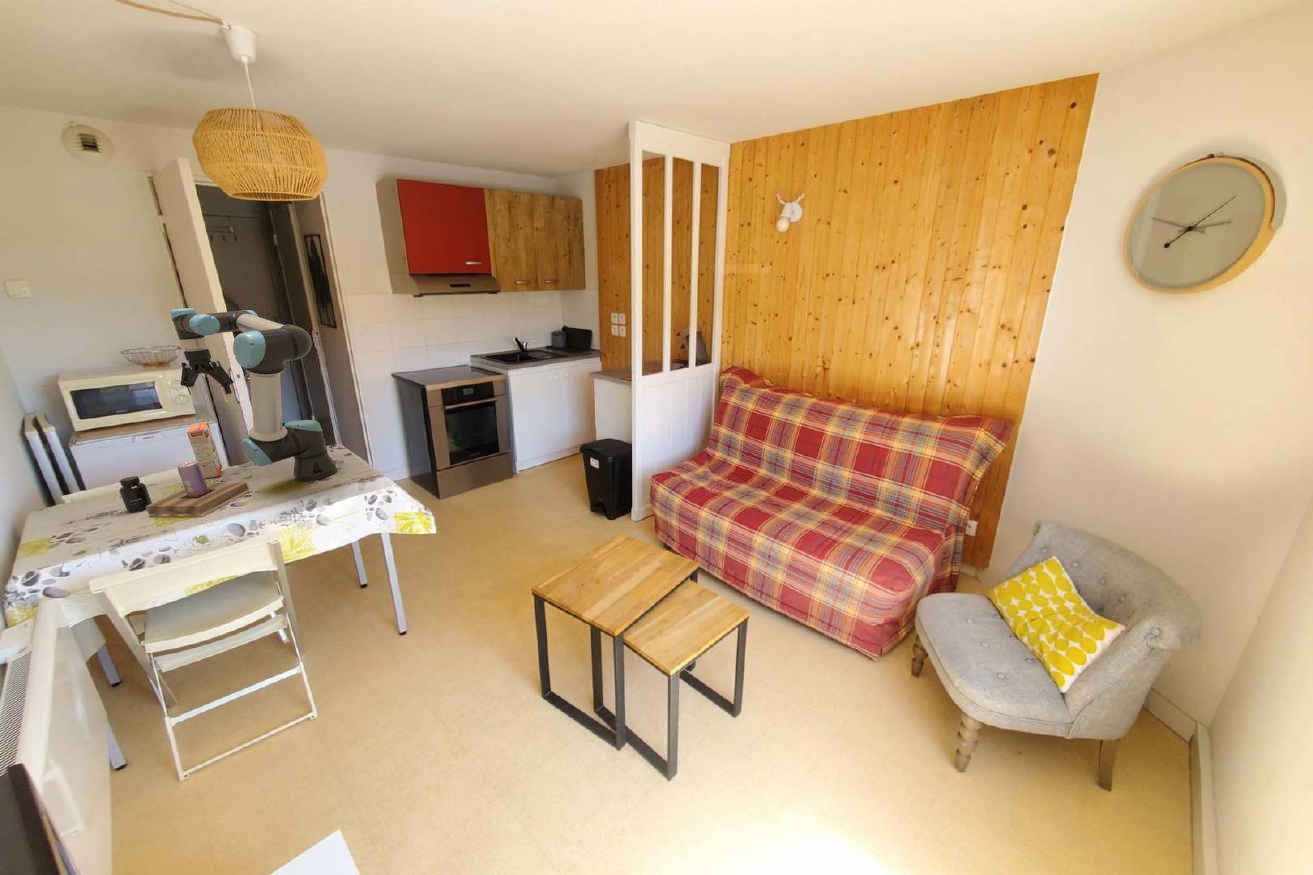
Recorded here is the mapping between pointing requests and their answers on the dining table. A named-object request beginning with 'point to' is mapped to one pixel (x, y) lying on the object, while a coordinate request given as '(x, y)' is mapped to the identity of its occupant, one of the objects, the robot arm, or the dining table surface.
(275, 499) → the dining table surface
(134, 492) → the supplement bottle
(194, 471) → the beverage can
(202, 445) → the cracker box
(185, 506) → the socket block
